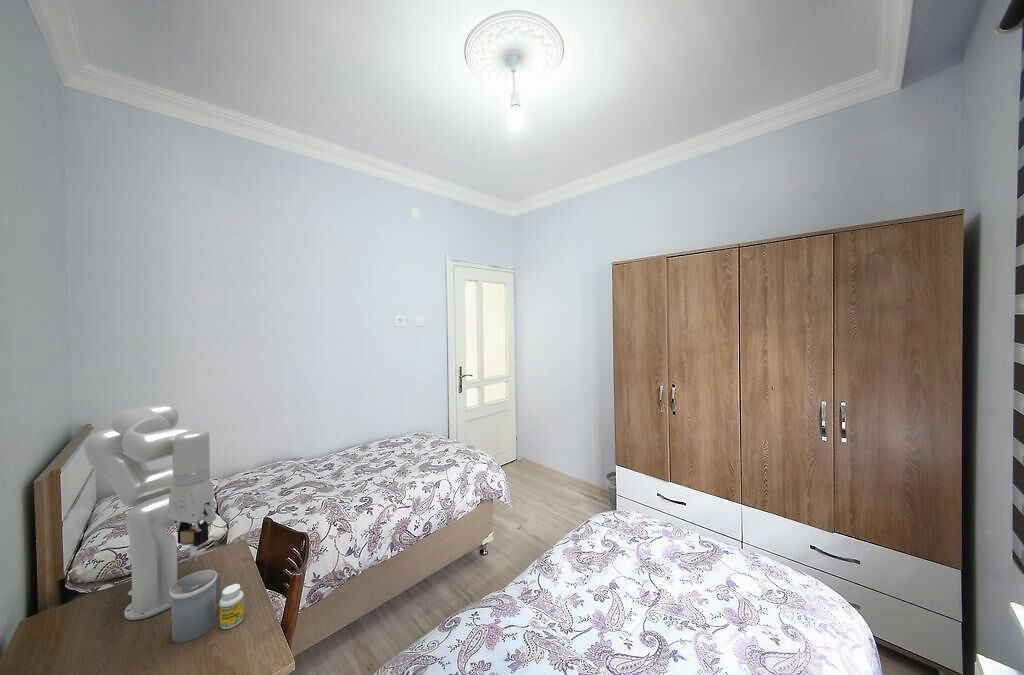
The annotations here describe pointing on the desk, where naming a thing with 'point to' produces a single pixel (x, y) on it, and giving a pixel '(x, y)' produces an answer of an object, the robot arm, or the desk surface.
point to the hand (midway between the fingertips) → (193, 541)
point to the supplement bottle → (231, 606)
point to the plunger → (189, 541)
